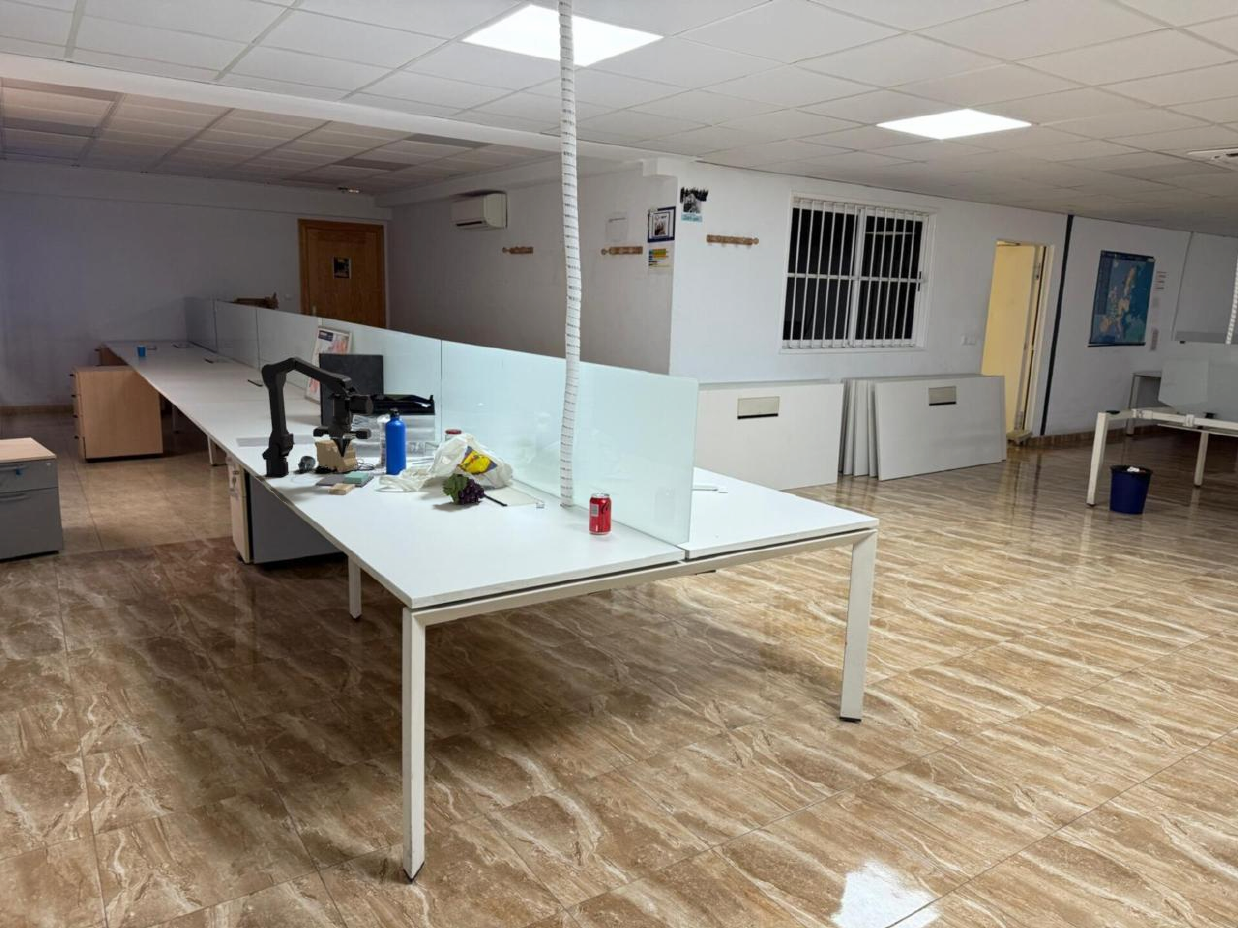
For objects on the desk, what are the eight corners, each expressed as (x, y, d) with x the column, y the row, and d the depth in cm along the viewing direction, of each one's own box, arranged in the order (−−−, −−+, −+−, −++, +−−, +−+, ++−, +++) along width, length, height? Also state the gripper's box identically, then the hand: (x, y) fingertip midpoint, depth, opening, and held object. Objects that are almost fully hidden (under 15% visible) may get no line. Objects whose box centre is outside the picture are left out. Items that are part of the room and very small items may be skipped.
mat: (315, 485, 297) (315, 483, 297) (329, 476, 311) (329, 474, 311) (362, 487, 297) (362, 485, 297) (373, 477, 311) (373, 476, 311)
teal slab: (344, 477, 300) (361, 477, 300) (351, 471, 307) (368, 472, 307) (344, 482, 300) (361, 483, 300) (351, 477, 308) (368, 478, 308)
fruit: (485, 511, 285) (446, 506, 275) (470, 499, 293) (431, 494, 282) (495, 482, 283) (456, 476, 273) (479, 471, 291) (441, 465, 281)
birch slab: (328, 494, 288) (328, 488, 287) (337, 489, 296) (337, 483, 295) (346, 495, 288) (346, 489, 287) (354, 489, 295) (354, 484, 295)
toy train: (346, 474, 315) (345, 447, 313) (315, 467, 324) (314, 440, 322) (358, 471, 320) (357, 445, 318) (327, 464, 329) (326, 438, 326)
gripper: (306, 415, 292) (307, 460, 295) (361, 418, 292) (362, 463, 295) (318, 410, 303) (319, 454, 306) (371, 412, 303) (372, 456, 306)
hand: (342, 457), depth 303 cm, fingers closed
